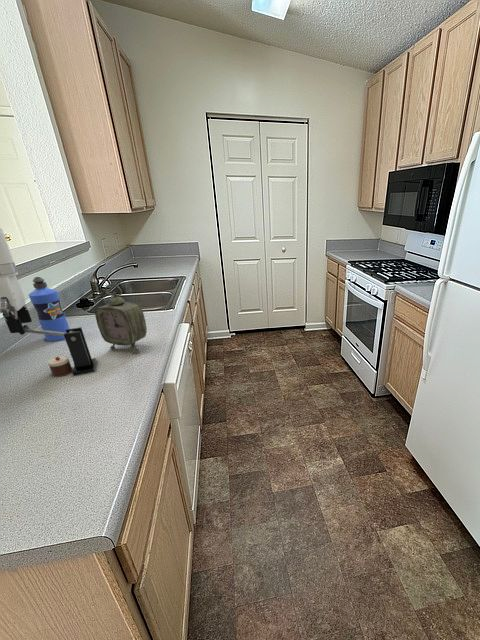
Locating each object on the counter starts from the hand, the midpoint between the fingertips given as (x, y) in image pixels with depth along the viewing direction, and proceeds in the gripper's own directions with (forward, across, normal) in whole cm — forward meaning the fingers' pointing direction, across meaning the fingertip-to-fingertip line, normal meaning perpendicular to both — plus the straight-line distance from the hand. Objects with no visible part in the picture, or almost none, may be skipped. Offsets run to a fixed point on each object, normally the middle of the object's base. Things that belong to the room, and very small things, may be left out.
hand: (21, 327), depth 101 cm
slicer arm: (+4, 0, +6) cm, 8 cm away
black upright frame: (+17, 0, +13) cm, 21 cm away
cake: (+17, 0, +6) cm, 18 cm away
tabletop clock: (+17, -12, +27) cm, 34 cm away
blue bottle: (+17, -38, 0) cm, 42 cm away
